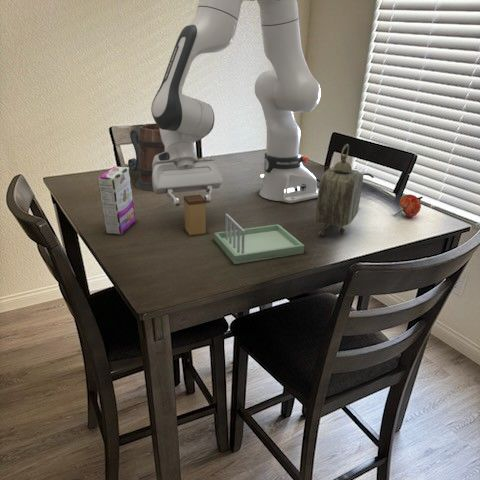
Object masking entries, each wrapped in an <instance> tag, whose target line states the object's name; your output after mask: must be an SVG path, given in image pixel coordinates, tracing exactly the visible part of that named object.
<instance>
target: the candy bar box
mask: <svg viewBox="0 0 480 480" xmlns="http://www.w3.org/2000/svg"><path fill="white" fill-rule="evenodd" d="M97 183H98V190H99V196H100V202H101V208H102V209H101V210H102V214H103V216H102V217H103V221H104V227H105V233H106V234H108V235H123V234H124V233H125V232H126V231H127V230H128V229H129V228H130V227H131V226H132V225H133V224H134V223H135V222H136V215H135V207H134V198H133V197H134V196H133V191H132V182H131V173H130V168H129V166H117V165H116V166H112V167H111V168H109V169H108V170H106V171H105V172H104V173H102V174H100V175H99V176H97Z"/></svg>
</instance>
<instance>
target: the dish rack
mask: <svg viewBox="0 0 480 480" xmlns="http://www.w3.org/2000/svg"><path fill="white" fill-rule="evenodd" d="M224 217H225V219H224V221H225V222H224V223H225V229H224V231H217V232H214V233H213V235H214V236H213V237H214V238H213V240H214V242H215V243H216V244H217V246H219V248H220V249H221V250H222V251H223V253H225V255H226V256H227V257H228V259H229V260H230V261H231V262H232V263H233V264H234V265H238V264H245V263H251V262H256V261H264V260H270V259H276V258H283V257H289V256H294V255H301V254H304V253H305V244H303V242H301V241H299V240H298V239H297V238H296V237H295V236H293V235H292V234H291V233H290V232H289V231H288V230H286V229H285V228H284V227H282V225H280V224H279V223H277V224H269V225H262V226H255V227H247V228H243V226H241V225H240V224H239V223H238V222H237V221H235V220H234V219H233V217H232V216H230V214H228V213H225V216H224Z"/></svg>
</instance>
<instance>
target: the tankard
mask: <svg viewBox="0 0 480 480" xmlns="http://www.w3.org/2000/svg"><path fill="white" fill-rule="evenodd" d="M129 136H130V140H131V143H132V146H133V148H134V152H135V157H134V158H133V157H132V158H129V159H128V161H127V165H128V167H129V170H131V171H132V172H136V171H139V176H138V178H137V180H136V182H135V183H134V185H135V187H137V188H138V189H140V190H145V191H153V187H152V173H153V170H152V163H153V159H154V157H155V156H156V155H158V154H160V153H163V152H165V146H164V144H163V142H162V139H161V135H160V130H159V127H158V126H157V124H143V125H140V126H139V128H135V129H132V130H130V132H129ZM153 192H154V191H153Z"/></svg>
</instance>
